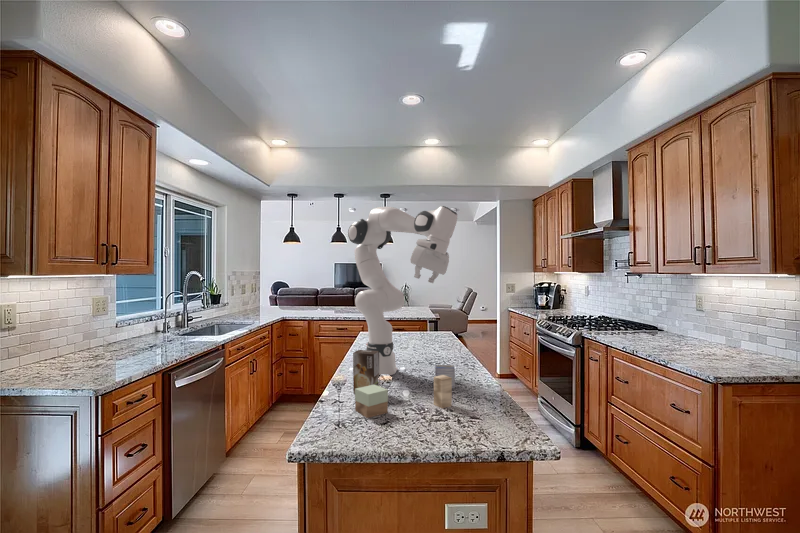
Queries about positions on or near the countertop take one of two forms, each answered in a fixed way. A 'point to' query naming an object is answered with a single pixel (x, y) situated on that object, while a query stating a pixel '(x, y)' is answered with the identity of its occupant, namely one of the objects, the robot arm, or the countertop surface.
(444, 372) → the medicine box
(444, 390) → the pillar
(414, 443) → the countertop surface
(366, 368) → the coffee box
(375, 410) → the block bottom
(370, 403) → the block top
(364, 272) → the robot arm
